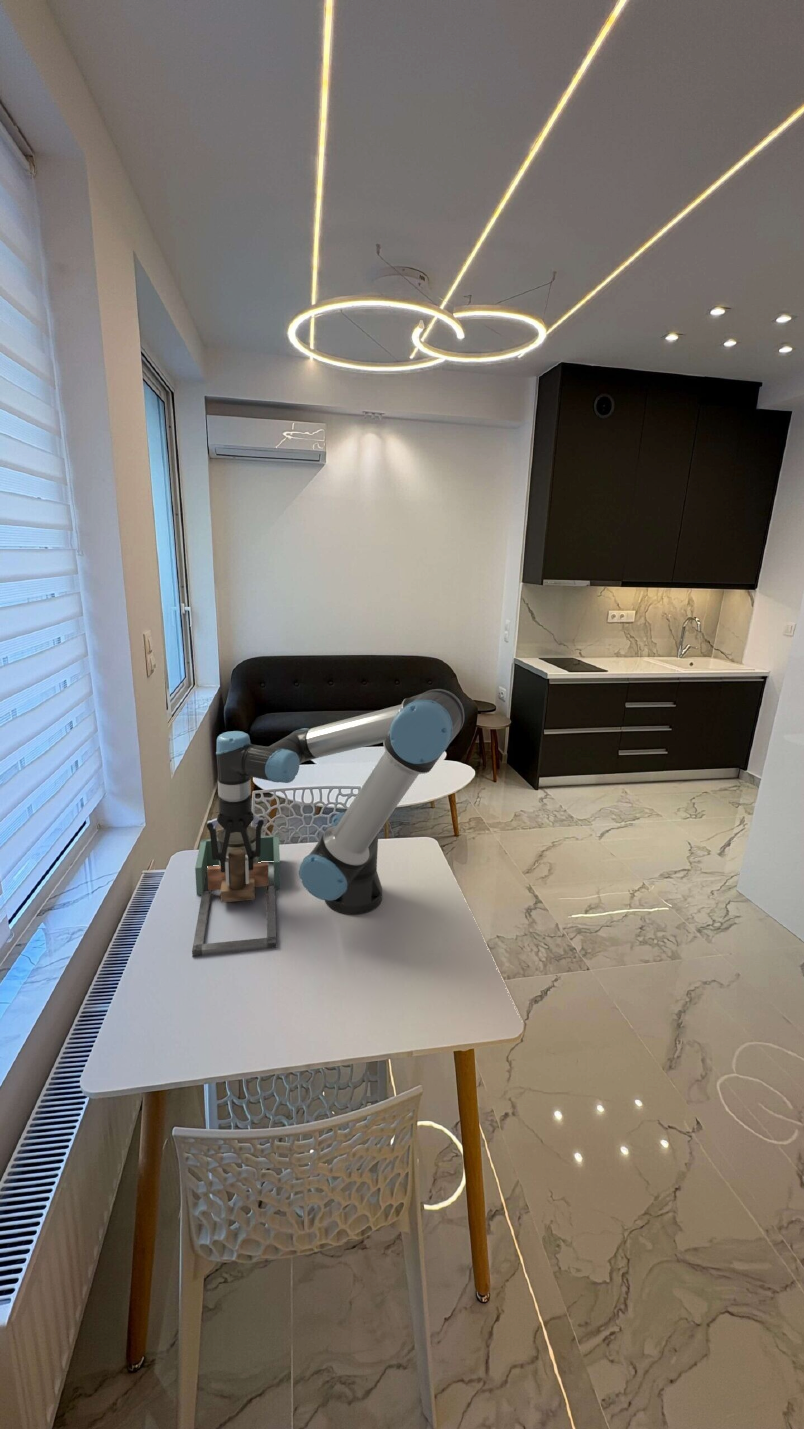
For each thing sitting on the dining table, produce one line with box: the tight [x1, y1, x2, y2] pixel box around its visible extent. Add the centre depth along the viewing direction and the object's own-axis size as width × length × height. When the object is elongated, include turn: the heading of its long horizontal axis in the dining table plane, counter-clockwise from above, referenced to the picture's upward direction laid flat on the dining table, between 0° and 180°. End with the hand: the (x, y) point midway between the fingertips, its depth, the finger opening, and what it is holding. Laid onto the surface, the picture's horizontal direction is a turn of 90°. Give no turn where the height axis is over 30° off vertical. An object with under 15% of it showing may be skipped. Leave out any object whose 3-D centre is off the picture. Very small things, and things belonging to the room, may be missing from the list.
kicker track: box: [191, 885, 277, 958], centre depth 141 cm, size 18×23×2 cm
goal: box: [194, 834, 281, 896], centre depth 158 cm, size 21×15×8 cm
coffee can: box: [217, 825, 258, 865], centre depth 156 cm, size 10×10×14 cm
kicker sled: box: [206, 850, 270, 903], centre depth 147 cm, size 15×7×12 cm, turn 103°
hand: (237, 881), depth 146 cm, fingers closed on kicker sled, 4 cm apart
